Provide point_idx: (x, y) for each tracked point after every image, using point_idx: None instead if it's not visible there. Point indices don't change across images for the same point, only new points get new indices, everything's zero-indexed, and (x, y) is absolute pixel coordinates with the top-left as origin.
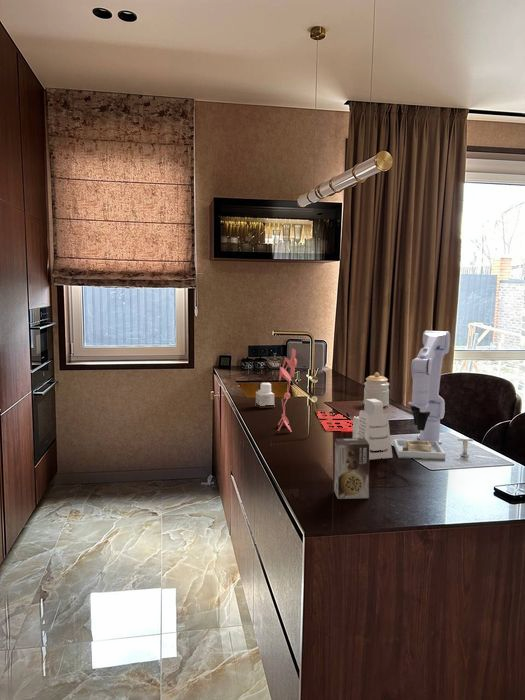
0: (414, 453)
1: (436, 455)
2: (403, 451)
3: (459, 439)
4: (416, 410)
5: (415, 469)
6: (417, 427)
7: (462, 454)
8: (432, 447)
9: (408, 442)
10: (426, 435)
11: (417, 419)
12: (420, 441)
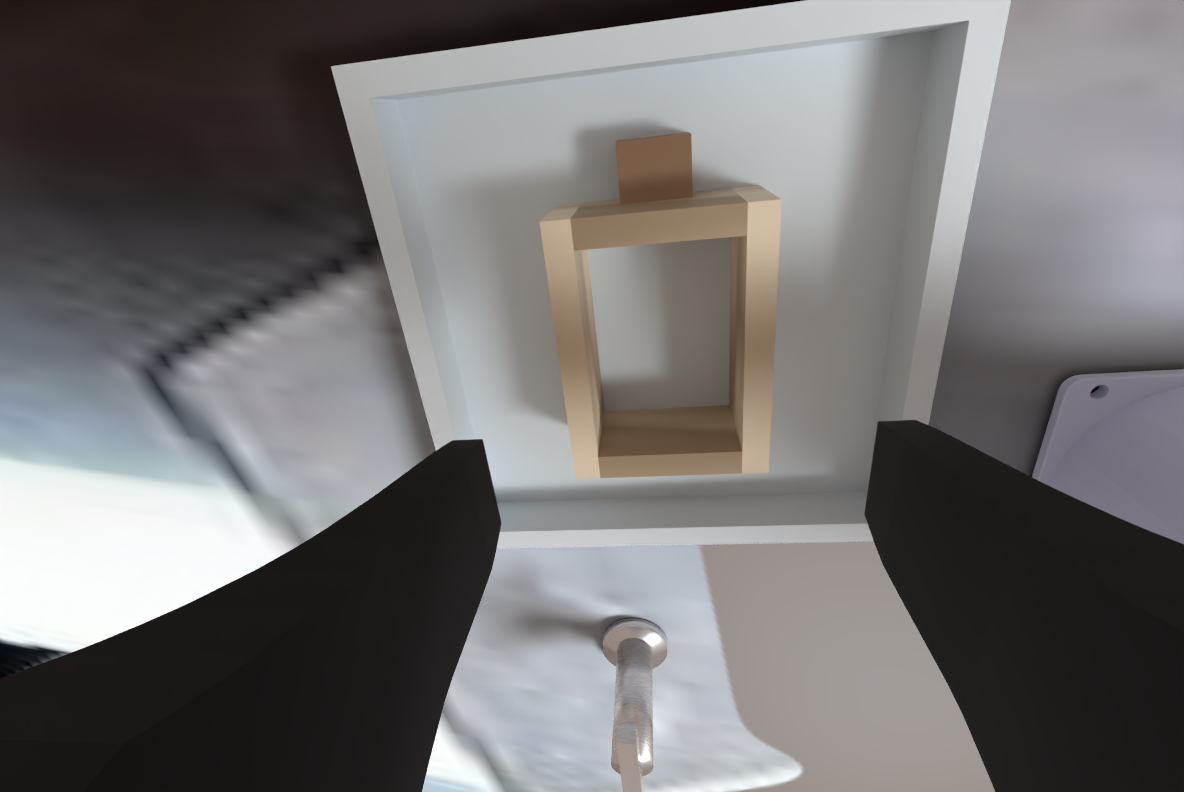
0: (393, 272)
1: None
2: (353, 135)
3: (617, 744)
4: (1145, 782)
5: (88, 248)
6: (428, 457)
7: (631, 638)
8: (813, 465)
9: (653, 222)
10: (1133, 474)
11: (257, 588)
12: (745, 383)
